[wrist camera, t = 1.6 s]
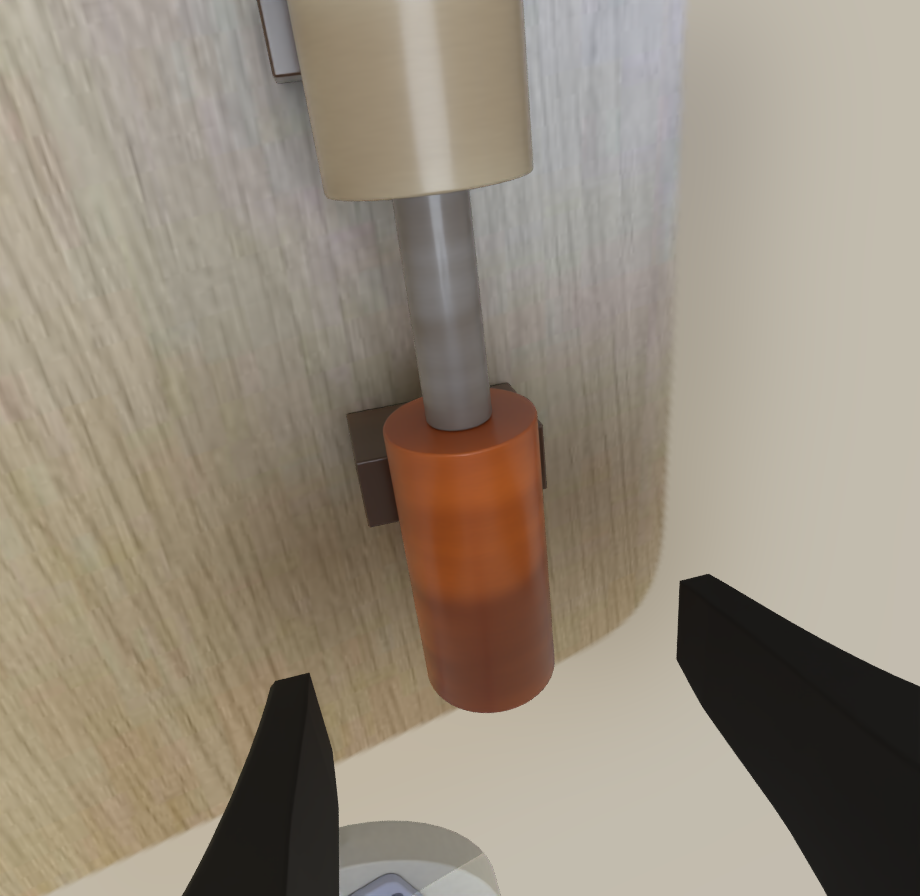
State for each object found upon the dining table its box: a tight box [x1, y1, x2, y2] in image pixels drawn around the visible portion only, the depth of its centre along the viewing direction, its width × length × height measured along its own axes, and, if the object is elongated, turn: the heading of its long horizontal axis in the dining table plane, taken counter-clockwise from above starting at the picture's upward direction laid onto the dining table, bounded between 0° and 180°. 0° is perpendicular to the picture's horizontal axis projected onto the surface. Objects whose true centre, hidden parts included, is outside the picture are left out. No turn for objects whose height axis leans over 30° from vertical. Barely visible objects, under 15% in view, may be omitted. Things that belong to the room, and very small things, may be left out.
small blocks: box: [257, 0, 547, 527], centre depth 14 cm, size 10×4×3 cm, turn 7°
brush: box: [287, 0, 554, 713], centre depth 12 cm, size 15×3×3 cm, turn 7°
